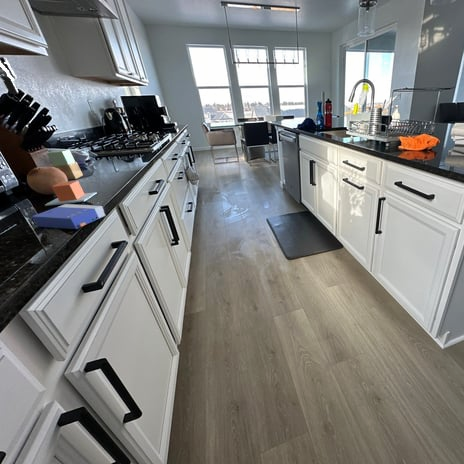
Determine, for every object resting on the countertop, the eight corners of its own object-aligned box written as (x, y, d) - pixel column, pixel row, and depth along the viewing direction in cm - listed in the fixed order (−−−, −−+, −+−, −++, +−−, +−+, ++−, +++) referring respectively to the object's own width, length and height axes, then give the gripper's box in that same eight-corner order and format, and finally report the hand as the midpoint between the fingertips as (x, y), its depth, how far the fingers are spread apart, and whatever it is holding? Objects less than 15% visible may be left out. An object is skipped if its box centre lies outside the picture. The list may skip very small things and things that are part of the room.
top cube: (59, 201, 75) (51, 186, 73) (68, 196, 79) (60, 182, 77) (77, 199, 76) (69, 184, 74) (84, 194, 80) (78, 180, 78)
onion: (52, 205, 82) (23, 183, 74) (40, 193, 86) (10, 171, 77) (81, 188, 87) (56, 165, 79) (68, 177, 90) (43, 154, 82)
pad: (45, 205, 73) (44, 204, 73) (61, 197, 80) (61, 195, 80) (84, 201, 75) (83, 200, 75) (97, 193, 82) (96, 192, 82)
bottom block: (59, 180, 99) (52, 166, 96) (67, 176, 104) (60, 163, 101) (75, 179, 100) (68, 164, 98) (83, 175, 105) (76, 161, 102)
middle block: (53, 166, 97) (46, 152, 94) (61, 163, 101) (54, 150, 99) (68, 164, 98) (61, 151, 95) (75, 162, 102) (69, 149, 100)
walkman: (37, 226, 60) (77, 229, 58) (31, 216, 59) (71, 218, 57) (71, 213, 67) (107, 215, 65) (65, 203, 66) (103, 205, 63)
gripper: (-24, 35, 78) (7, 94, 86) (-73, 23, 66) (-31, 93, 74) (5, 35, 80) (33, 93, 87) (-38, 23, 67) (0, 92, 75)
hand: (4, 93), depth 81 cm, fingers open, 8 cm apart
